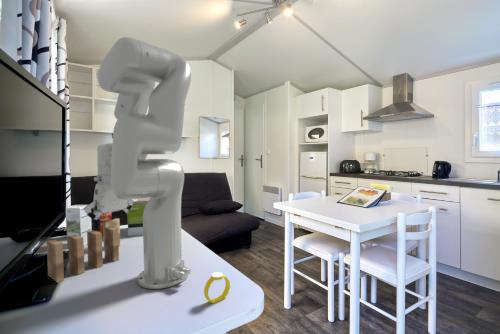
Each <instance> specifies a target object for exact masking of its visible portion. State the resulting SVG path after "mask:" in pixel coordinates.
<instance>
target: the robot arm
mask: <svg viewBox="0 0 500 334" xmlns="http://www.w3.org/2000/svg"><path fill="white" fill-rule="evenodd" d="M191 80H192V71H191V67H190V64H189V62H188V61H187V59H185V58H184V57H183V56H181V55H179V54H177V53H176V52H173V51H170V50H167V49H165V48H162V47H159V46H157V45H153V44H150V43H147V42H144V41H142V40H139V39H136V38H132V37H128V36H125V37H124V36H123V37H121V38H119V39H117V40H116V42H115V43H114V44H113V45H112V47H111V48H110V50H109V51H108V52H107V53H106V54H105V56H104V57H103V59H102V61H101V63H100V65H99V69H98V72H97V84H98V86H99V87H100V89H101V90H102V91H105V92H109V93H114V94H118V97H117V99H116V104H115V108H114V111H113V115H114V117H115V119H116V122H115V124H114V127H113V131H112V133H113V134H112V142H109V143H104V144H99V145H98V146H97V149H96V150H97V151H96V153H97V154H96V155H97V175H96V176H95V177H93V181H94V182H97V183H96V184H95V187H94V192H93V201H92V202H91V203H89V204H86V205H87V206H86V207H84V211H85V212H86V214H87V215H88V216H89V217H90V218H91V227H92V230H93V231H95V230H96V231H100V219H99V217H100V216H101V214H102V213H110V212H112V213H113V212H119V211H120V213H119V214H120V215H119V217H120V218H119V219H120V224H121V225H122V224H123V225H128V217H127V213H129V210H130V209H131V207H132V204H133V202H134V200H132V199H138V198H146V197H150V199H149V201H148V203H147V204H146V206H145V209H144V212H143V235H142V238H143V243H142V244H143V245H142V247H143V271H141V272H140V273H139V274H138V275H137V284H138V285H139V286H140V287H142V288H145V289H148V290H161V289H165V288H166V289H167V288H171V287H173V286H176V285H179V284H180V283H182V282H185V281H186V280H187V279H188V276H189V275H190V274H191V268H187V267H186V266H185V260H184V259H183V260H182V197H183V195H182V194H183V189H184V184H185V171H184V169H183V166H182V165H181V164H180V163H179V162H177V161H176V160H173V159H169V158H168V159H167V158H148V159H147V157H148V155H171V154H175V153H177V152H178V151H179V150H180V149H181V144H182V138H183V127H184V117H185V116H184V115H185V105H186V104H185V103H186V99H187V96H188V92H189V90H190V85H191V82H192V81H191ZM156 83H158V84H157V85H156ZM93 207H94V213H93V212H92V209H93Z"/></svg>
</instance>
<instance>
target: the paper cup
mask: <svg viewBox="0 0 500 334" xmlns="http://www.w3.org/2000/svg"><path fill="white" fill-rule="evenodd" d="M92 209H93V210H92V211H93V212H92V213H94V207H93V208H92ZM112 216H113V212H110V213H102V214H101V216H100V217H99V219H100V231H97V232H101V233H102V236H104V235H103V221H107V220H112ZM94 231H96V230H94Z"/></svg>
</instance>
